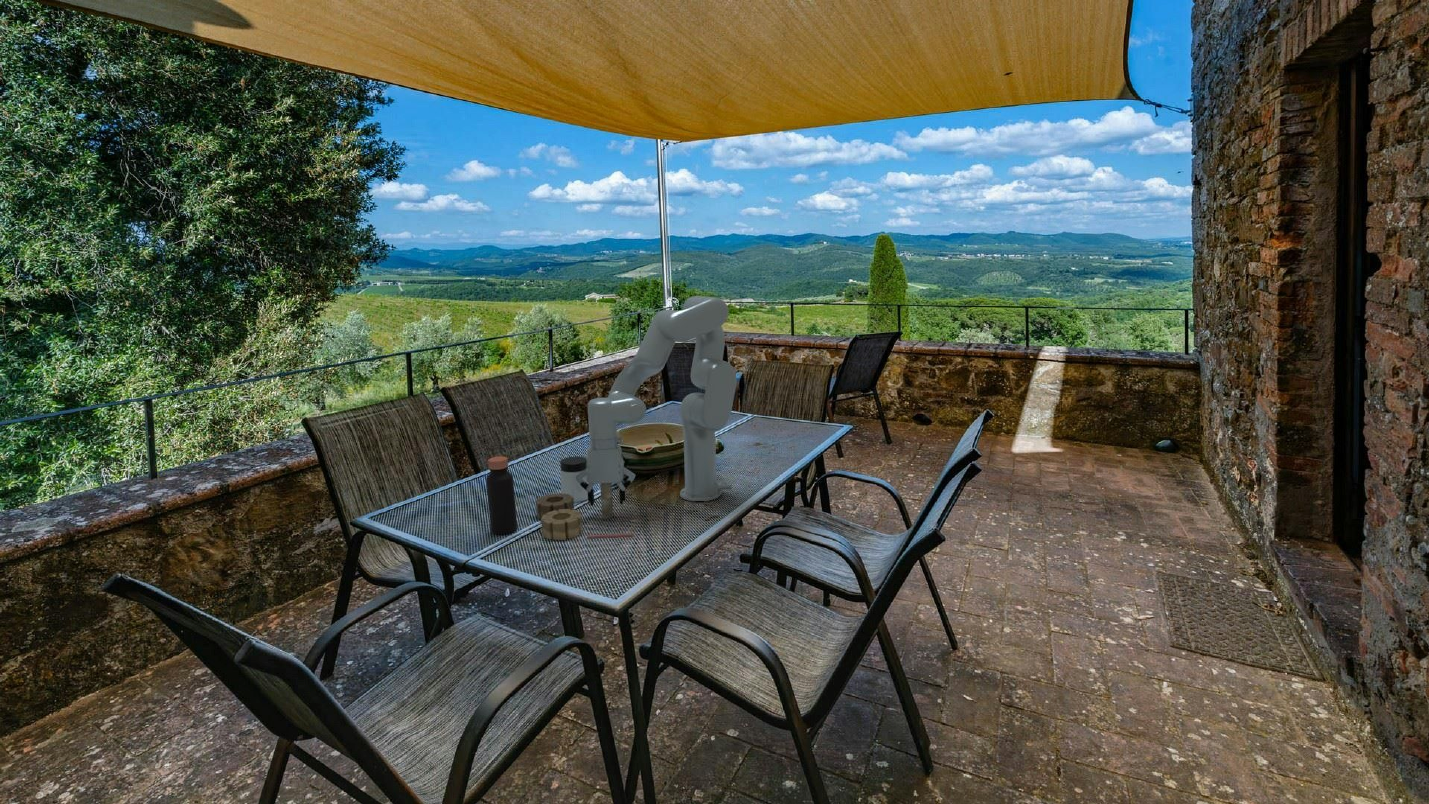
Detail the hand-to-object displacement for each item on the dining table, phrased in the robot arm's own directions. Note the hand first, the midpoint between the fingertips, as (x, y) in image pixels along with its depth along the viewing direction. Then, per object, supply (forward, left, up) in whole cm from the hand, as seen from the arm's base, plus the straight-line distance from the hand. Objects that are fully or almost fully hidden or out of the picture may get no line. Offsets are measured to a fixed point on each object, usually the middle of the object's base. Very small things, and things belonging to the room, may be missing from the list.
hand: (607, 503), depth 183 cm
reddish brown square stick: (-2, +14, -4) cm, 15 cm away
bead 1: (+15, -3, -4) cm, 16 cm away
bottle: (+27, +7, -4) cm, 28 cm away
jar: (+11, -16, -4) cm, 20 cm away
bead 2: (+11, +10, -4) cm, 15 cm away
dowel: (0, 0, -4) cm, 4 cm away
